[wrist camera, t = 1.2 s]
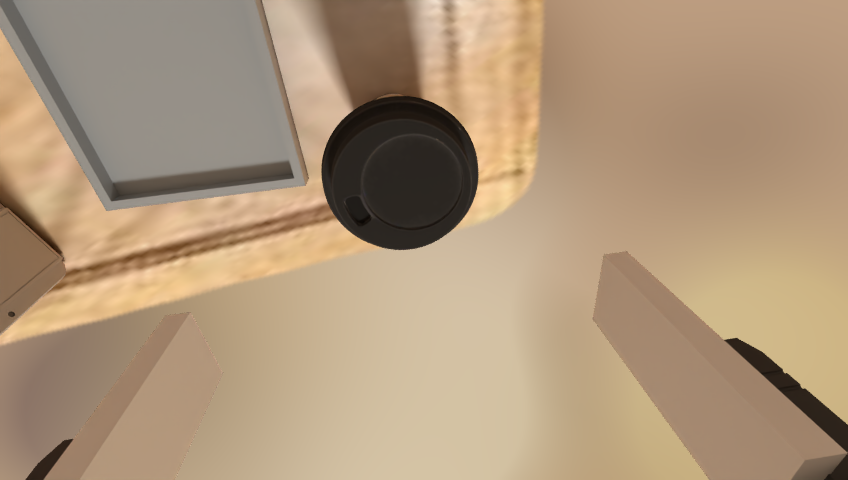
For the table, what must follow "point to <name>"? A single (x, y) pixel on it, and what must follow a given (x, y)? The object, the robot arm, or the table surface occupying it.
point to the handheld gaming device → (23, 268)
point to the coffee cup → (400, 172)
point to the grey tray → (161, 95)
